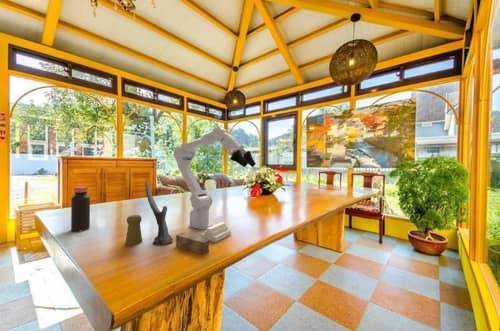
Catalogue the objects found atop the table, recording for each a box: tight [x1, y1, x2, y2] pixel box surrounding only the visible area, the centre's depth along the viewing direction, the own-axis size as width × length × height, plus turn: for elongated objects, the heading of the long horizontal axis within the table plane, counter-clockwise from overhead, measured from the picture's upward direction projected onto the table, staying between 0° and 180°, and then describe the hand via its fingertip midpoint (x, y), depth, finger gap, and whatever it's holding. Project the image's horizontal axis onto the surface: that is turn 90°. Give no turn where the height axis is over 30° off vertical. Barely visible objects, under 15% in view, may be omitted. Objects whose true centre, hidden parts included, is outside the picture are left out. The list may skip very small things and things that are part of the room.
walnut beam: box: [175, 232, 210, 255], centre depth 79 cm, size 14×3×4 cm, turn 61°
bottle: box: [70, 186, 91, 233], centre depth 96 cm, size 7×7×20 cm
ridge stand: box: [200, 221, 232, 243], centre depth 92 cm, size 8×11×5 cm
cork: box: [125, 214, 143, 246], centre depth 83 cm, size 6×6×11 cm
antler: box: [144, 180, 174, 246], centre depth 84 cm, size 12×8×25 cm
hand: (250, 165), depth 91 cm, fingers open, 7 cm apart
